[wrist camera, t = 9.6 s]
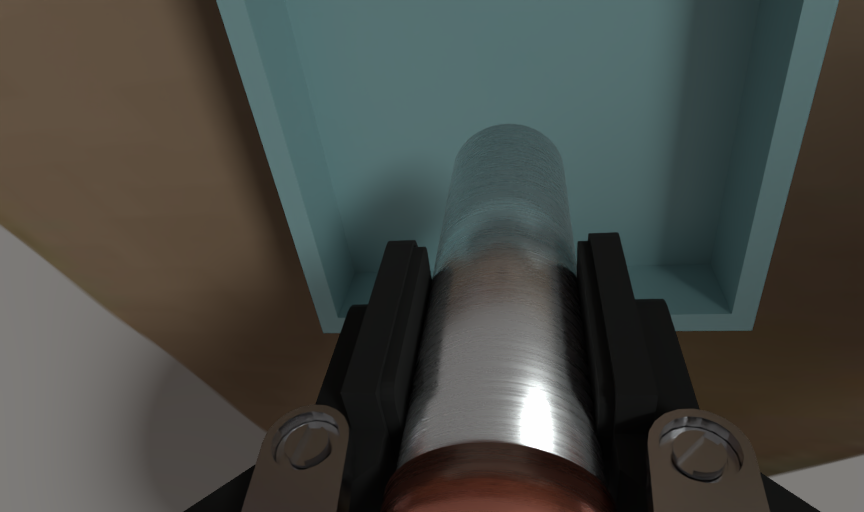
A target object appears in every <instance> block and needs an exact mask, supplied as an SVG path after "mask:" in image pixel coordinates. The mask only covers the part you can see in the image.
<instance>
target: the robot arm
mask: <svg viewBox="0 0 864 512" xmlns="http://www.w3.org/2000/svg"><path fill="white" fill-rule="evenodd" d="M431 283H432V277H431V270H430V264H429V258H428V252H427V248H426V247H418V245H417V242H416V241H415V240H399V241H388V243H387V245H386V248H385V251H384V254H383V258H382V261H381V264H380V267H379V270H378V274H377V277H376V280H375V283H374V287H373V290H372V293H371V296H370V299H369V303H368V304H356V305H352V306H351V307H350V308H349V310H348V312H347V315H346V318H345V321H344V324H343V327H342V330H341V332H340V335H339V338H338V341H337V344H336V347H335V350H334V353H333V355H332V358H331V361H330V364H329V367H328V370H327V373H326V376H325V378H324V381H323V384H322V387H321V390H320V393H319V396H318V399H317V402H316V404H315V405H308V406H303V407H299V408H297V409H295V410H293V411H290V412H288V413H287V414H285V415H284V416H282V417H281V418H280V419H278V420H277V421H276V422H275V423H274V424H273V426H272V427H271V428H270V429H269V430H268V432H267V434H266V436H265V438H264V440H263V442H262V446H261V449H260V452H259V456H258V459H257V462H256V465H254V466H252V467H251V468H249V469H248V470H246V471H245V472H243V473H242V474H240V475H239V476H237V477H236V478H234V479H233V480H231V481H230V482H228V483H226V484H225V485H223V486H222V487H220V488H219V489H217V490H216V491H214V492H213V493H211V494H210V495H208V496H207V497H205V498H204V499H202V500H201V501H199V502H198V503H196V504H194V505H193V506H191V507H190V508H188V509H187V510H185V511H184V512H380V511H381V506H382V501H383V496H384V492H385V488H386V485H387V483H388V481H389V479H390V478H391V476H392V475H393V474H394V473H395V472H396V467H397V461H398V456H399V451H400V445H401V440H402V436H403V432H404V426H405V421H406V416H407V410H408V405H409V400H410V395H411V389H412V384H413V379H414V373H415V368H416V363H417V357H418V352H419V347H420V342H421V336H422V331H423V326H424V320H425V315H426V310H427V305H428V299H429V294H430V289H431ZM577 284H578V292H579V300H580V307H581V315H582V323H583V331H584V339H585V346H586V354H587V362H588V370H589V378H590V385H591V393H592V401H593V409H594V417H595V424H596V432H597V439H598V442H599V444H600V447H601V451H602V458H603V466H604V473H605V481H606V488H607V489H608V490H609V492H610V493H611V495H612V497H613V499H614V501H615V504H616V507H617V512H820V511H819V510H817V509H816V508H814V507H812V506H811V505H809V504H808V503H806V502H805V501H803V500H802V499H800V498H799V497H797V496H796V495H794V494H793V493H791V492H789V491H788V490H786V489H785V488H783V487H782V486H780V485H778V484H777V483H776V482H774V481H773V480H771V479H770V478H768V477H766V476H765V475H763V474H762V473H760V470H759V467H758V463H757V459H756V455H755V452H754V450H753V448H752V445H751V443H750V441H749V439H748V438H747V437H746V436H745V435H744V434H743V432H742V431H741V430H740V429H739V428H738V427H737V426H735V425H734V424H732V423H731V422H729V421H728V420H727V419H725V418H723V417H721V416H718V415H716V414H714V413H711V412H708V411H703V410H699V406H698V403H697V400H696V397H695V393H694V390H693V387H692V384H691V380H690V377H689V374H688V371H687V367H686V364H685V361H684V358H683V354H682V351H681V348H680V345H679V341H678V338H677V335H676V332H675V328H674V325H673V322H672V319H671V315H670V312H669V309H668V306H667V304H666V301H665V300H664V299H635V297H634V293H633V289H632V285H631V281H630V277H629V273H628V269H627V265H626V260H625V256H624V252H623V248H622V244H621V240H620V236H619V233H618V232H610V233H589V234H588V241H578V243H577Z"/></svg>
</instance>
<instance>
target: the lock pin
mask: <svg viewBox="0 0 864 512" xmlns="http://www.w3.org/2000/svg"><path fill="white" fill-rule="evenodd" d="M380 512H617V507H616V504H615V501H614V499H613V497H612V495H611V493H610V492H609V490H608V489H607V488H606V481H605V473H604V466H603V458H602V451H601V447H600V444H599V442H598V439H597V432H596V424H595V417H594V409H593V401H592V393H591V385H590V378H589V370H588V362H587V354H586V346H585V339H584V331H583V323H582V315H581V307H580V300H579V292H578V284H577V262H576V255H575V247H574V240H573V232H572V225H571V217H570V210H569V202H568V194H567V187H566V179H565V172H564V165H563V160H562V157H561V155H560V153H559V151H558V149H557V147H556V146H555V145H554V143H553V142H552V141H551V140H550V139H549V138H548V137H547V136H545V135H544V134H542V133H541V132H539V131H537V130H536V129H533V128H531V127H528V126H524V125H520V124H499V125H494V126H490V127H488V128H485V129H483V130H481V131H479V132H477V133H476V134H474V135H473V136H471V137H470V138H469V139H468V140H467V141H466V142H465V143H464V144H463V146H462V147H461V148H460V150H459V152H458V154H457V156H456V158H455V162H454V166H453V171H452V176H451V182H450V187H449V192H448V197H447V203H446V208H445V213H444V219H443V224H442V229H441V234H440V240H439V245H438V250H437V255H436V261H435V266H434V271H433V277H432V283H431V289H430V294H429V299H428V305H427V310H426V315H425V320H424V326H423V331H422V336H421V342H420V347H419V352H418V357H417V363H416V368H415V373H414V379H413V384H412V389H411V395H410V400H409V405H408V410H407V416H406V421H405V426H404V432H403V436H402V440H401V445H400V451H399V456H398V461H397V467H396V472H395V473H394V474H393V475H392V476H391V478H390V479H389V481H388V483H387V485H386V488H385V492H384V496H383V501H382V506H381V511H380Z"/></svg>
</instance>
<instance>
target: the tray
mask: <svg viewBox="0 0 864 512" xmlns="http://www.w3.org/2000/svg"><path fill="white" fill-rule="evenodd" d="M216 1H217V4H218V7H219V11H220V14H221V17H222V20H223V23H224V26H225V29H226V32H227V35H228V39H229V42H230V45H231V48H232V51H233V54H234V57H235V60H236V63H237V66H238V70H239V73H240V76H241V79H242V82H243V85H244V88H245V91H246V94H247V98H248V101H249V104H250V107H251V110H252V113H253V116H254V119H255V122H256V126H257V129H258V132H259V135H260V138H261V141H262V144H263V147H264V150H265V154H266V157H267V160H268V163H269V166H270V169H271V172H272V175H273V178H274V181H275V185H276V188H277V191H278V194H279V197H280V200H281V203H282V206H283V209H284V213H285V216H286V219H287V222H288V225H289V228H290V231H291V234H292V237H293V241H294V244H295V247H296V250H297V253H298V256H299V259H300V262H301V265H302V269H303V272H304V275H305V278H306V281H307V284H308V287H309V290H310V293H311V297H312V300H313V303H314V306H315V309H316V312H317V315H318V318H319V321H320V324H321V328H322V331H323V333H340V332H341V330H342V327H343V324H344V321H345V318H346V315H347V312H348V310H349V308H350V307H351V306H352V305H356V304H368V303H369V299H370V296H371V293H372V290H373V287H374V283H375V280H376V277H377V274H378V270H379V267H380V264H381V261H382V258H383V254H384V251H385V248H386V245H387V243H388V241H399V240H415V241H416V242H417V245H418V247H426V248H427V252H428V258H429V264H430V270H431V277H433V271H434V266H435V261H436V255H437V250H438V245H439V240H440V234H441V229H442V224H443V219H444V213H445V208H446V203H447V197H448V192H449V187H450V182H451V176H452V171H453V166H454V162H455V158H456V156H457V154H458V152H459V150H460V148H461V147H462V146H463V144H464V143H465V142H466V141H467V140H468V139H469V138H470V137H471V136H473V135H474V134H476V133H477V132H479V131H481V130H483V129H485V128H488V127H490V126H494V125H499V124H520V125H524V126H528V127H531V128H533V129H536V130H537V131H539V132H541V133H542V134H544V135H545V136H547V137H548V138H549V139H550V140H551V141H552V142H553V143H554V145H555V146H556V147H557V149H558V151H559V153H560V155H561V157H562V160H563V165H564V172H565V179H566V187H567V194H568V202H569V210H570V217H571V225H572V232H573V240H574V247H575V255H576V262H577V243H578V241H588V234H589V233H610V232H618V233H619V236H620V240H621V244H622V248H623V252H624V256H625V260H626V265H627V269H628V273H629V277H630V281H631V285H632V289H633V293H634V297H635V299H664V300H665V301H666V304H667V306H668V309H669V312H670V315H671V319H672V322H673V325H674V328H675V331H752V329H753V325H754V321H755V318H756V314H757V310H758V306H759V302H760V299H761V295H762V291H763V287H764V283H765V280H766V276H767V272H768V268H769V264H770V261H771V257H772V253H773V249H774V245H775V242H776V238H777V234H778V230H779V226H780V223H781V219H782V215H783V211H784V207H785V204H786V200H787V196H788V192H789V188H790V185H791V181H792V177H793V173H794V169H795V166H796V162H797V158H798V154H799V150H800V146H801V143H802V139H803V135H804V131H805V127H806V124H807V120H808V116H809V112H810V108H811V105H812V101H813V97H814V93H815V89H816V86H817V82H818V78H819V74H820V70H821V67H822V63H823V59H824V55H825V51H826V48H827V44H828V40H829V36H830V32H831V29H832V25H833V21H834V17H835V13H836V10H837V6H838V2H839V0H216Z"/></svg>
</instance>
